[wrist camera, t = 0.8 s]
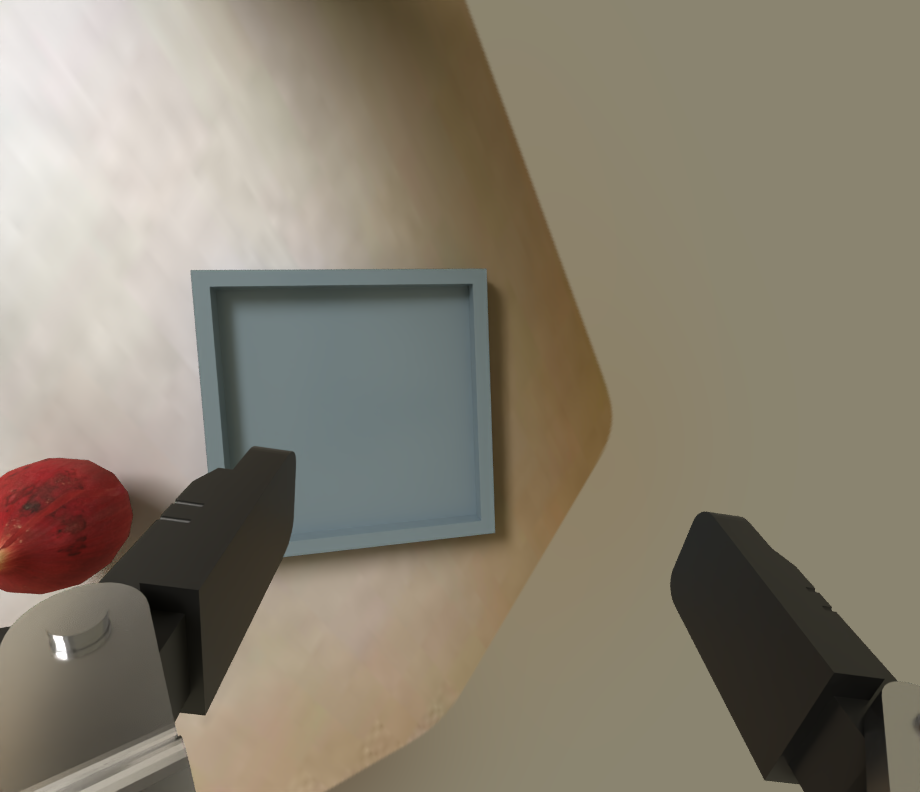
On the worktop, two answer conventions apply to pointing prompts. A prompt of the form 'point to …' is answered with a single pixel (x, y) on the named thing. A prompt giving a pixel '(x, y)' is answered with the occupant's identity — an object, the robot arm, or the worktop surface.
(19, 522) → the onion
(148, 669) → the robot arm
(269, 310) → the dish
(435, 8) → the worktop surface
